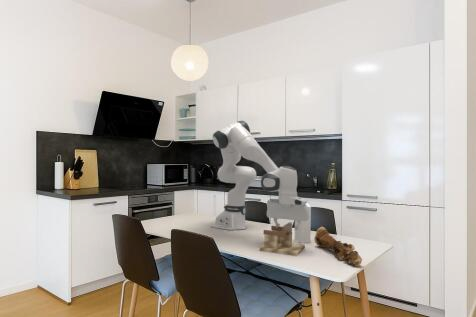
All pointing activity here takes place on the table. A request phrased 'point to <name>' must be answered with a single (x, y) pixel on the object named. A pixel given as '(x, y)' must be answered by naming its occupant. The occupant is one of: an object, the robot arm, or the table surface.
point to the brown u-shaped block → (285, 230)
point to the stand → (281, 245)
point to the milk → (303, 229)
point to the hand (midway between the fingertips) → (287, 228)
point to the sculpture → (337, 247)
